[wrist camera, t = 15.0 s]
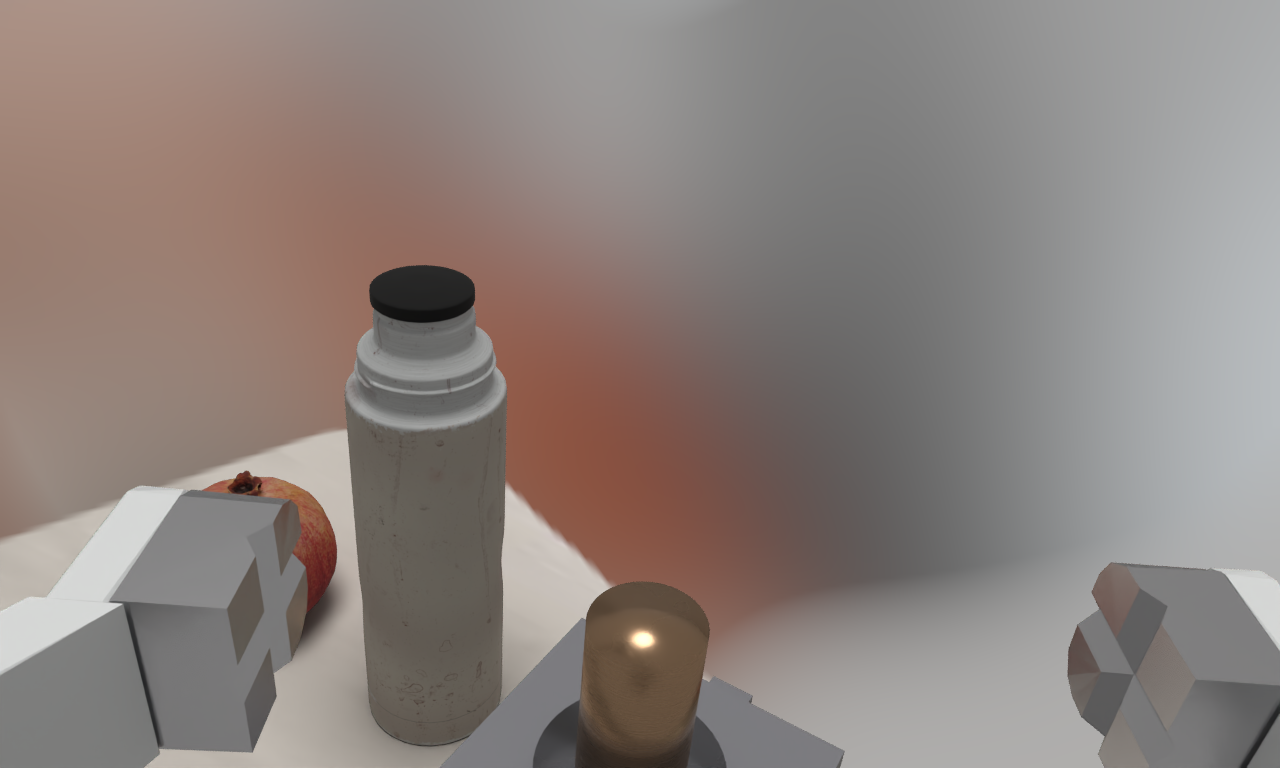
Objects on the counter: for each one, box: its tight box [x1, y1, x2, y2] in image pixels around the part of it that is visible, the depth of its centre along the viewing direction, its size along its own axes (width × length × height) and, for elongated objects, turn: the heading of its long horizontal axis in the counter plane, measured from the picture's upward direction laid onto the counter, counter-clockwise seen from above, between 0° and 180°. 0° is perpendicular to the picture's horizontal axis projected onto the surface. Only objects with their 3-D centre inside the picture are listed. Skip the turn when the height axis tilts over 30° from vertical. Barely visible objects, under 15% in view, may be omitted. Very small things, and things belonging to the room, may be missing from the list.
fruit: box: [202, 471, 337, 613], centre depth 64 cm, size 11×10×10 cm
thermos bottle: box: [345, 265, 507, 746], centre depth 54 cm, size 8×8×28 cm
